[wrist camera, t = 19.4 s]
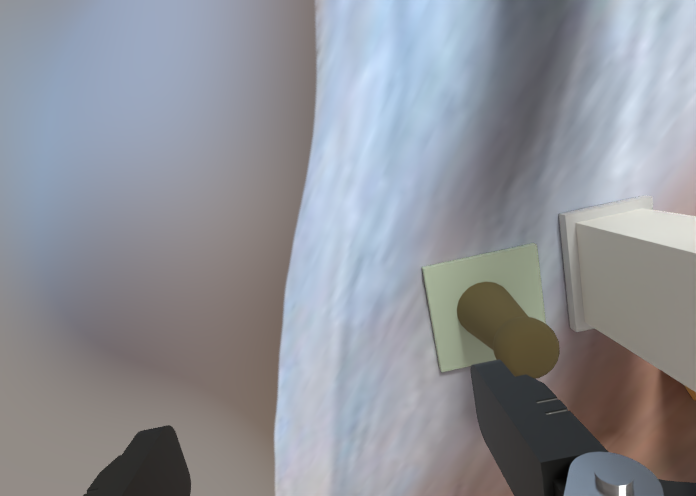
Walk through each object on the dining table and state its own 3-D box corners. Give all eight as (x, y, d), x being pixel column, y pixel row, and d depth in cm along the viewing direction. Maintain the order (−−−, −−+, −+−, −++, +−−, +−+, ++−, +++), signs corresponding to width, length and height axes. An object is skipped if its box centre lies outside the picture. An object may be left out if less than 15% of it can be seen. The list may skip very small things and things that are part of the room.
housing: (558, 213, 42) (681, 242, 28) (643, 195, 43) (811, 214, 28) (569, 328, 45) (687, 409, 30) (649, 310, 45) (805, 384, 30)
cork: (523, 313, 44) (586, 362, 33) (476, 345, 44) (523, 405, 34) (492, 270, 43) (548, 307, 32) (445, 304, 43) (484, 351, 32)
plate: (421, 267, 43) (423, 269, 42) (533, 242, 43) (536, 244, 42) (439, 368, 46) (441, 372, 45) (544, 346, 46) (548, 349, 45)
